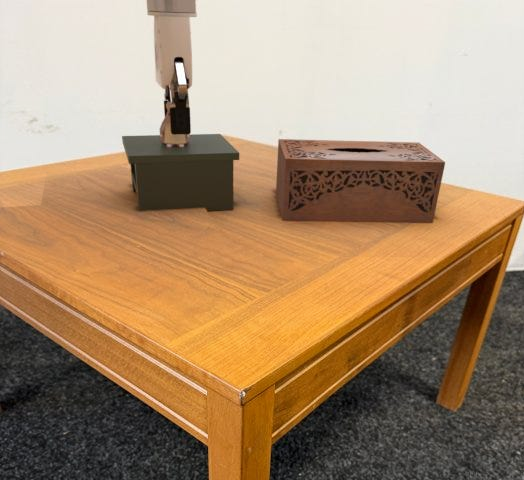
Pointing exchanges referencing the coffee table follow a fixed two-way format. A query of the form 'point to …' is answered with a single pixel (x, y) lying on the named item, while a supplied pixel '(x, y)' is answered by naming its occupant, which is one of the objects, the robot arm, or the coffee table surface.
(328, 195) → the tissue box cover
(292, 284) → the coffee table surface
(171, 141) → the mouse figurine
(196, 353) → the coffee table surface
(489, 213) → the coffee table surface
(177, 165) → the dark green lidded box
